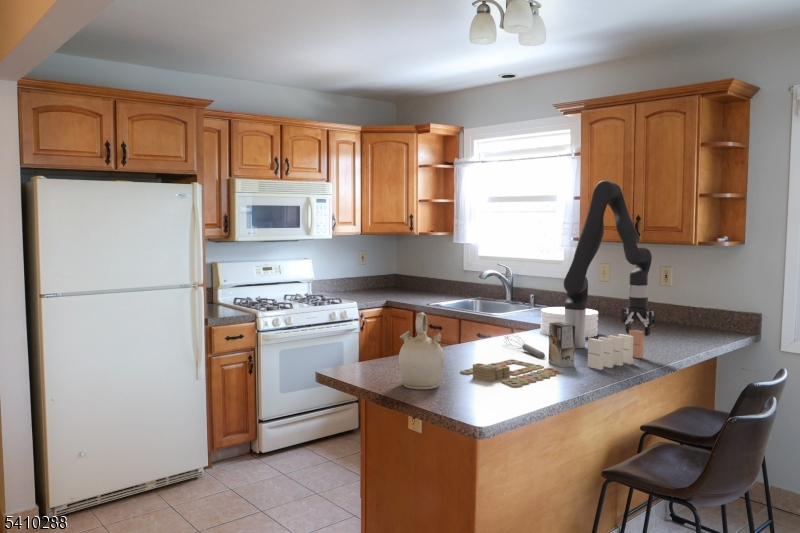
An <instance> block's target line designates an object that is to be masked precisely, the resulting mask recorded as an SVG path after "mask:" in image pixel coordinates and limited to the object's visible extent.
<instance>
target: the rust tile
mask: <svg viewBox="0 0 800 533" xmlns="http://www.w3.org/2000/svg"><path fill="white" fill-rule="evenodd" d="M628 335H629V336H633V358H637V359H640V358H641V359H644V353H645V352H644V351H645V350H644V349H645V348H644V345H645V331H641V330H637V329H636V330H635V329H631V330H629V334H628Z"/></svg>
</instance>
